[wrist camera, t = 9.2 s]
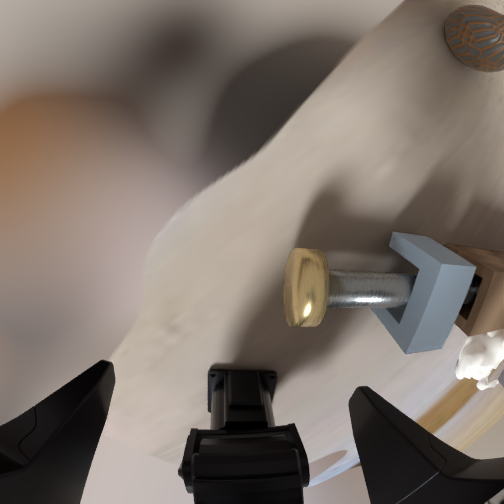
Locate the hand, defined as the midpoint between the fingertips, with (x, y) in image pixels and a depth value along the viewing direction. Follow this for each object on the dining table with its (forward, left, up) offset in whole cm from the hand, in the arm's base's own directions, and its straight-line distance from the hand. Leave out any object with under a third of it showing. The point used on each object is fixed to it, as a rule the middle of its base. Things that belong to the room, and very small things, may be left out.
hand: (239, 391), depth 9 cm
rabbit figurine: (-10, -35, -13) cm, 38 cm away
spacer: (0, -14, -12) cm, 19 cm away
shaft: (0, -14, -11) cm, 18 cm away
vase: (+24, -20, -13) cm, 34 cm away
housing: (0, -28, -13) cm, 31 cm away
